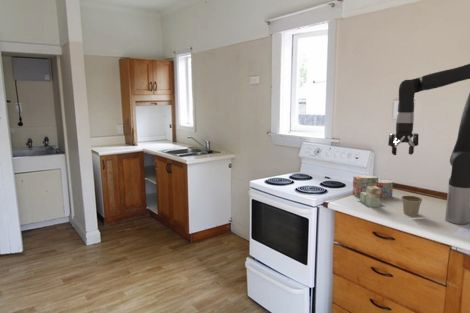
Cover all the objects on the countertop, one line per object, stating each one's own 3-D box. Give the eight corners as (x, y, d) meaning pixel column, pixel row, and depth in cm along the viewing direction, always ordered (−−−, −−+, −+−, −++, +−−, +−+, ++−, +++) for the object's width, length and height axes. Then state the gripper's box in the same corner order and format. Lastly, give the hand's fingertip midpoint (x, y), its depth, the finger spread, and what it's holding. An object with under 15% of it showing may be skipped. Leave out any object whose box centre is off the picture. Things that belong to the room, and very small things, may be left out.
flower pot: (409, 219, 162) (411, 201, 160) (395, 212, 171) (396, 196, 169) (425, 217, 164) (427, 200, 163) (411, 211, 173) (412, 194, 172)
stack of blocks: (387, 194, 203) (388, 175, 201) (392, 197, 197) (393, 177, 195) (352, 195, 203) (353, 175, 201) (356, 198, 197) (357, 177, 195)
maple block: (374, 195, 183) (375, 186, 182) (379, 197, 178) (380, 188, 177) (366, 195, 182) (366, 186, 181) (370, 198, 177) (371, 188, 177)
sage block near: (374, 203, 184) (374, 195, 183) (379, 206, 179) (379, 197, 178) (365, 204, 183) (366, 195, 182) (370, 207, 178) (370, 198, 177)
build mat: (374, 201, 191) (374, 200, 190) (385, 207, 179) (385, 206, 179) (357, 201, 189) (357, 200, 189) (367, 208, 178) (368, 207, 178)
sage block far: (368, 200, 190) (368, 191, 189) (372, 203, 185) (373, 194, 184) (360, 200, 190) (360, 192, 189) (364, 203, 185) (364, 194, 184)
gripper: (395, 122, 159) (393, 156, 162) (423, 122, 160) (420, 155, 163) (386, 121, 166) (384, 153, 169) (413, 121, 168) (411, 153, 171)
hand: (402, 154), depth 166 cm, fingers open, 8 cm apart
